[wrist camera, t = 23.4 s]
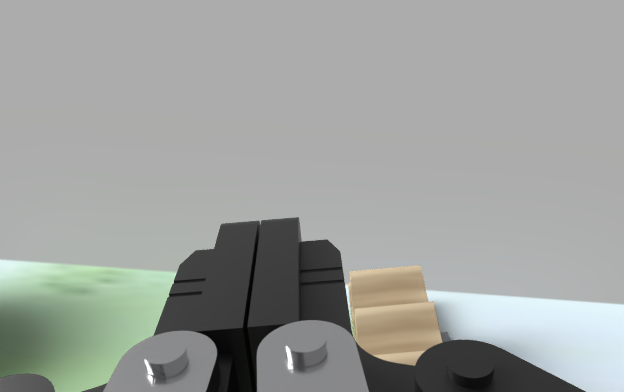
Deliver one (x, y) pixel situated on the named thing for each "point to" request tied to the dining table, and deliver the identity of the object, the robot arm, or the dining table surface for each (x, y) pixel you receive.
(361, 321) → the domino
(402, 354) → the domino
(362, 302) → the domino
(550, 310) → the dining table surface
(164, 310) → the robot arm
